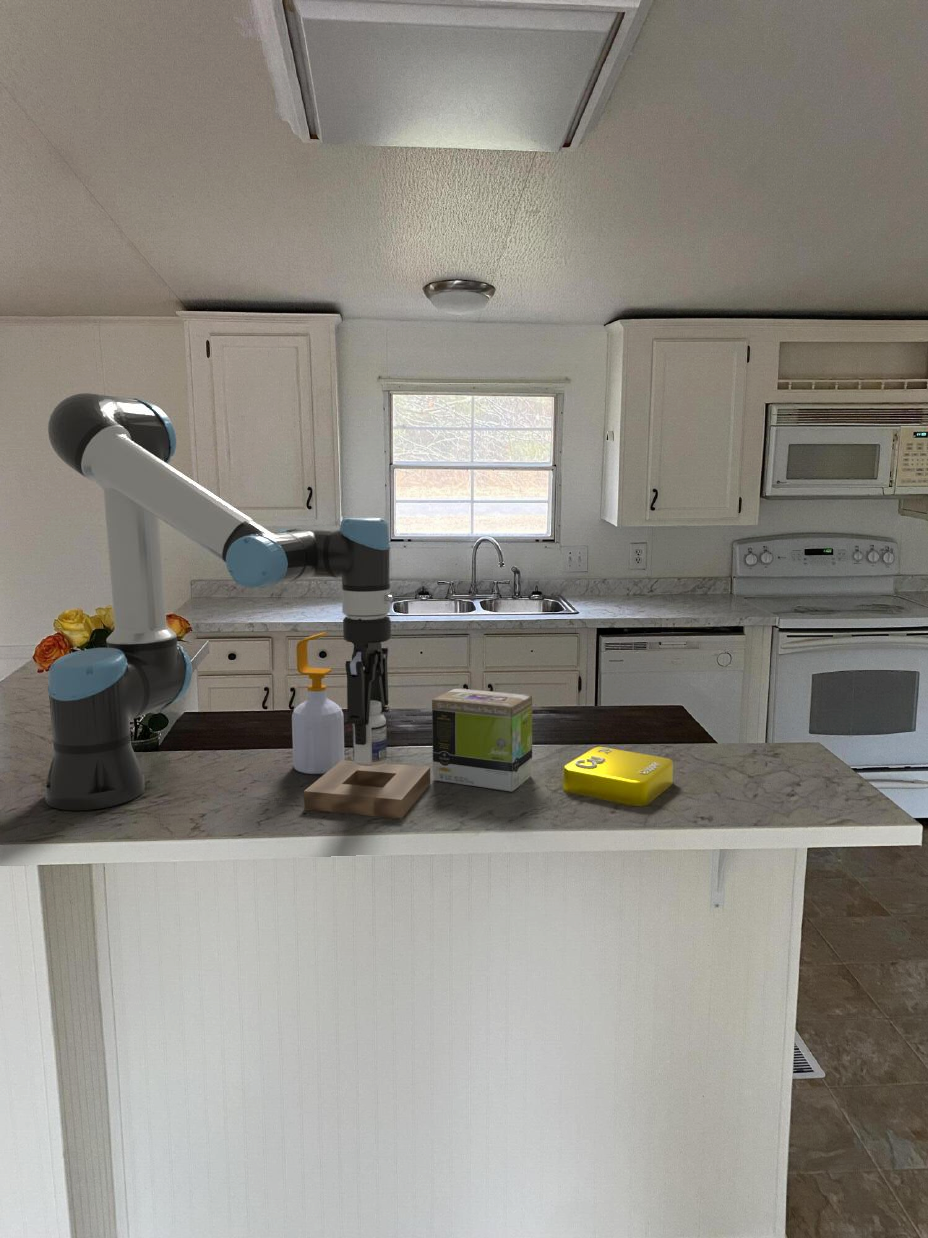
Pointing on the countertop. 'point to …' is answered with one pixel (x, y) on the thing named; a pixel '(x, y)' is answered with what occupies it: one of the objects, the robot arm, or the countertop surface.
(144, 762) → the countertop surface
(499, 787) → the tea box
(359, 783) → the socket block
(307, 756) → the soap bottle
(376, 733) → the pill bottle
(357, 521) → the robot arm
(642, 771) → the element tile
